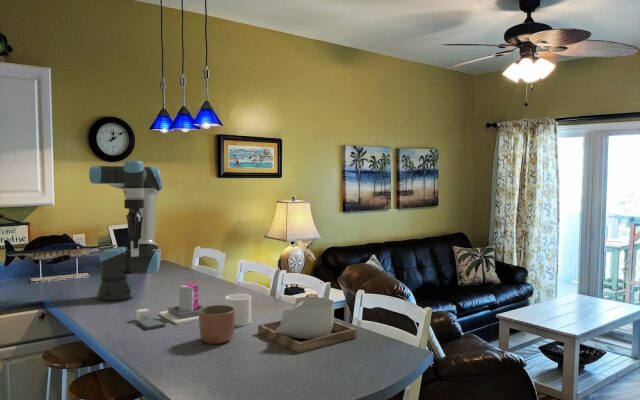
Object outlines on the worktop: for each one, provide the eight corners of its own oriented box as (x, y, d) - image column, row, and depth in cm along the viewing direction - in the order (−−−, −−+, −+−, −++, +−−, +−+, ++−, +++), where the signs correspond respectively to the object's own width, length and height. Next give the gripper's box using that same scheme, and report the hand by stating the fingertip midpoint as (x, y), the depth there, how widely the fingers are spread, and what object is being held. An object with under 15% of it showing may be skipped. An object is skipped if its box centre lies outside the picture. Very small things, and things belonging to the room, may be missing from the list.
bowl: (328, 345, 168) (329, 310, 168) (273, 340, 171) (274, 306, 171) (336, 329, 187) (337, 297, 187) (287, 325, 191) (288, 294, 191)
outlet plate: (159, 314, 206) (159, 307, 205) (199, 307, 217) (199, 300, 217) (176, 324, 191) (176, 317, 191) (218, 316, 203) (218, 309, 203)
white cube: (136, 319, 198) (136, 310, 198) (146, 318, 200) (146, 308, 200) (140, 322, 194) (140, 312, 194) (150, 320, 197) (150, 310, 197)
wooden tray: (258, 333, 181) (258, 325, 181) (313, 321, 197) (313, 313, 197) (299, 352, 162) (299, 343, 161) (356, 337, 177) (356, 329, 177)
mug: (256, 323, 194) (256, 297, 194) (234, 328, 187) (234, 301, 187) (238, 316, 203) (238, 291, 203) (217, 321, 197) (216, 295, 196)
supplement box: (192, 315, 201) (191, 287, 200) (178, 314, 202) (178, 286, 201) (198, 311, 206) (198, 284, 206) (185, 310, 208) (185, 283, 207)
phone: (136, 323, 193) (136, 320, 193) (154, 320, 197) (154, 317, 197) (146, 330, 184) (146, 327, 184) (165, 326, 189) (165, 324, 189)
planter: (217, 348, 165) (217, 316, 165) (191, 342, 172) (190, 310, 171) (242, 338, 176) (242, 308, 175) (216, 332, 182) (216, 303, 182)
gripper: (119, 198, 205) (120, 255, 206) (129, 199, 195) (130, 259, 196) (138, 197, 210) (138, 253, 211) (148, 199, 199) (149, 257, 201)
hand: (134, 256), depth 203 cm, fingers closed
